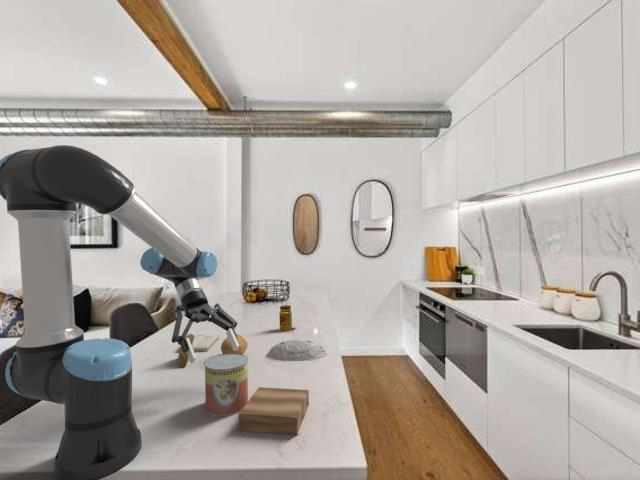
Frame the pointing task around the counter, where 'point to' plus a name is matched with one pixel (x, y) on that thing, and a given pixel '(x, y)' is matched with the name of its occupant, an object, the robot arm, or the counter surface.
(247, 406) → the walnut base
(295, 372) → the counter surface
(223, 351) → the potato
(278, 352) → the silver oval dome
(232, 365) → the canned food
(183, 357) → the rock
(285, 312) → the condiment
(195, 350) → the washcloth
